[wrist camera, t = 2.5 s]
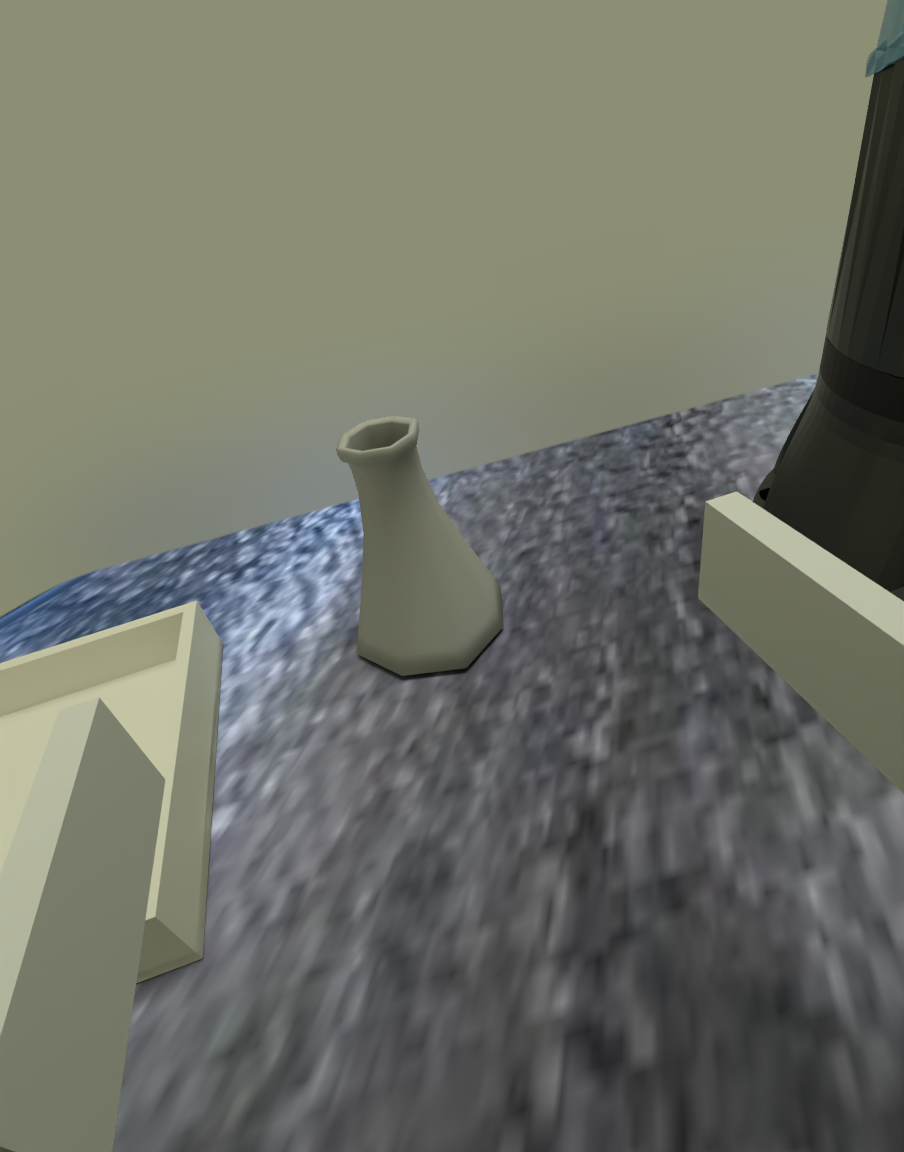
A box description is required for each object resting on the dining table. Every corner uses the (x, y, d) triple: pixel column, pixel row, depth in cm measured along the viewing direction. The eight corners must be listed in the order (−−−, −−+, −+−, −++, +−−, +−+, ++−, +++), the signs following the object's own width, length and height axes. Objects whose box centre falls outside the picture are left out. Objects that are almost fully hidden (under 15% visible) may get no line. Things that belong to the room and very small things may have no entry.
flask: (395, 572, 33) (339, 398, 27) (523, 581, 30) (493, 389, 24) (333, 670, 28) (247, 481, 22) (481, 691, 25) (429, 482, 19)
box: (223, 644, 31) (196, 600, 29) (202, 958, 19) (155, 916, 17) (-83, 744, 29) (-131, 705, 27) (-321, 1156, 17) (-435, 1134, 15)
